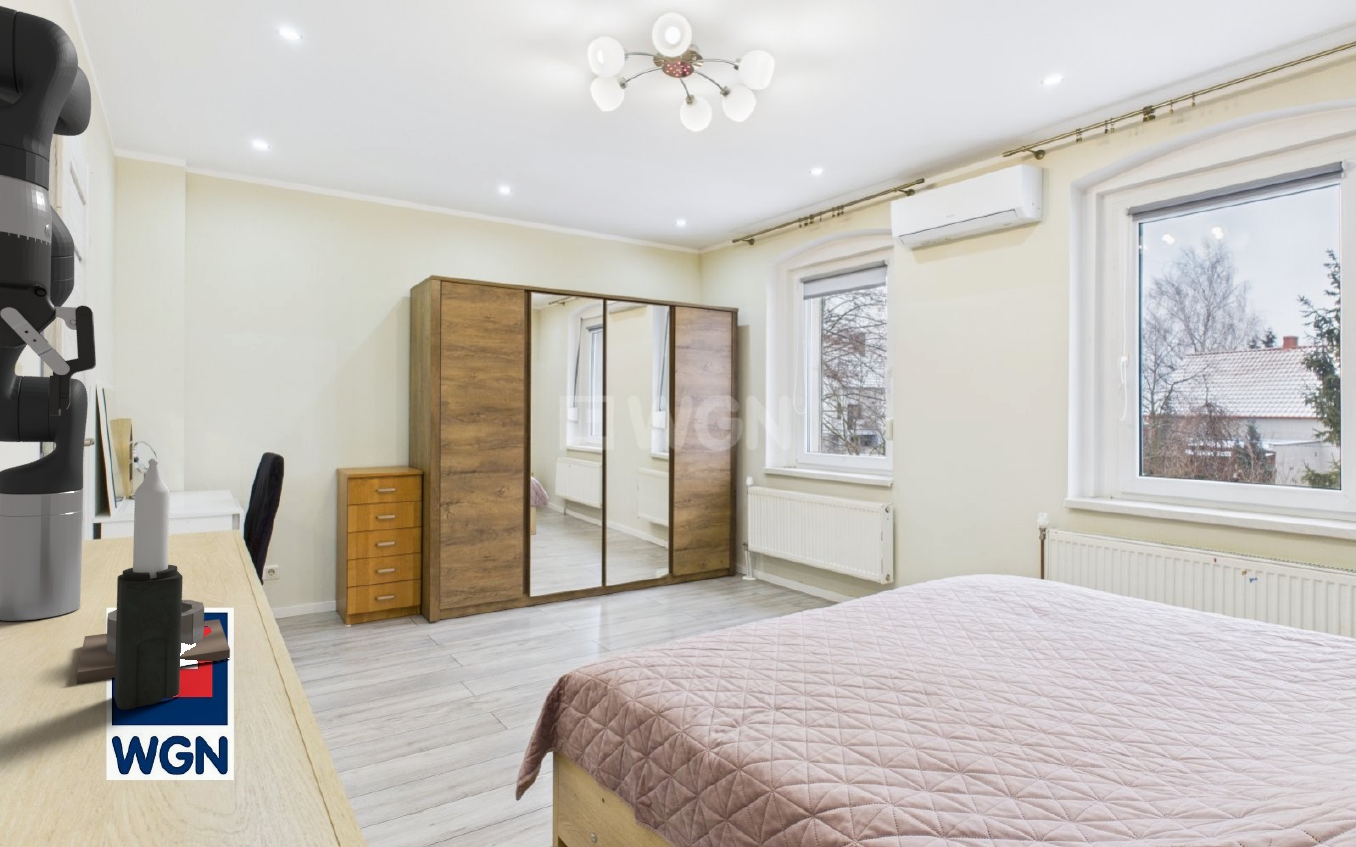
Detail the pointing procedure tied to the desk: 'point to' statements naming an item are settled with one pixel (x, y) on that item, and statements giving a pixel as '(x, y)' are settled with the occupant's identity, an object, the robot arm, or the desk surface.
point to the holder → (212, 647)
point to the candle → (148, 605)
